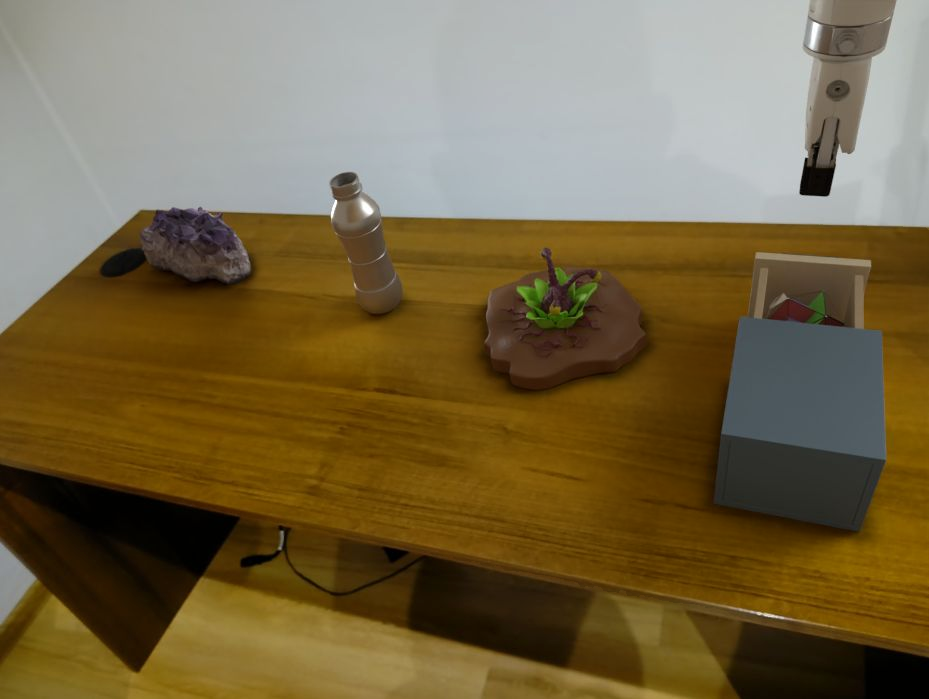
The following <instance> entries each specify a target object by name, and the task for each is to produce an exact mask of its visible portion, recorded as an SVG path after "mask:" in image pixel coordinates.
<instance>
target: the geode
mask: <svg viewBox="0 0 929 699" xmlns="http://www.w3.org/2000/svg"><path fill="white" fill-rule="evenodd" d="M139 241H140V243H141V245H142V247H141V250H142V251H143V254H144V256H145V258H146V260H147V262H148V264H149V267H151V268H153V269H155V270H157V271H158V270H159V271H161V270H164V271H171V272H172V273H174V274H175V275H176V276H179V277H182V278H184V279H187V280H188V281H190V282H192V283H197V282H202V281H205V280H207V279H209V280H210V279H211V280H217V281H220V282H221V283H223V284H225V285H230V284H234V283H236V282H239V281H242V280H245V278H247V277H249V276H251V274H252V271H253V270H252V269H253V268H252V265H251V264H252V263H251V261H250V257H249V254H248V251H247V250H246V248H245V247H244V245H243V242H242V240H241V239H240V237H239V236H238V234H237V232H236V231H235V230H234V229H233V228H232V227H231V226H230V225H227V224H226V222H225V221H224V220H223V212H222V211H220V212H218V213H217V214H215V215H213V214H211V213H210V212H209V211H207V210H206V209H203V207H202V206H199V207H198V208H185V209H182V208H179V207H174V206H173V207H171V208H170V209H168V211H166V210H160V209H158V208H157V209H156V210H155V214H154V216H153V218H152V222H151V224H150V225H148V226H146V227H144V228H142V230H141V231H140V232H139Z"/></svg>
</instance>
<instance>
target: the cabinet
mask: <svg viewBox="0 0 929 699" xmlns="http://www.w3.org/2000/svg"><path fill="white" fill-rule="evenodd" d="M883 353H884V352H883V331H882V330H878V329H877V330H876V329H868V328H867V329H866V328H864V329H858V328H848V327H839V326H829V325H819V324H809V323H799V322H790V321H780V320H770V319H760V318H750V317H748V316H739V319H738V325H737V332H736V337H735V344H734V350H733V357H732V363H731V369H730V375H729V383H728V388H727V394H726V399H725V400H726V401H725V408H724V414H723V419H722V426H721V432H720V439H719V440H720V441H719V450H718V460H717V469H716V478H715V488H714V497H713V504H714V505H719V506H723V507H728V508H734V509H740V510H745V511H750V512H754V513H759V514H765V515H769V516H770V515H771V516H775V517H780V518H785V519H790V520H796V521H801V522H805V523H810V524H816V525H820V526H827V527H832V528H837V529H842V530H845V531H846V530H848V531H852V532H857V533H860V532H861V530H862V527H863V525H864V522H865V519H866V518H867V514H868V511H869V508H870V507H871V503H872V500H873V498H874V495H875V492H876V489H877V487H878V484H879V481H880V479H881V475H882V472H883V471H884V467H885V465H886V463H887V442H886V441H887V440H886V416H885V415H886V414H885V413H886V410H885V384H884V357H883V355H884V354H883Z"/></svg>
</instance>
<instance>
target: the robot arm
mask: <svg viewBox="0 0 929 699" xmlns="http://www.w3.org/2000/svg"><path fill="white" fill-rule="evenodd" d="M897 1H898V0H809V4H808V11H807V16H806V17H807V18H806V24H805V30H804V37H803V41H802V50H803V52H804V53H805V54H807V55H808V56H810V57H812V64H811V70H810V77H809V83H808V84H809V86H808V89H807V90H808V91H807V98H806V108H805V126H804V127H805V128H804V149H805V151H807V157H804V161H803V167H802V172H801V176H800V177H801V178H800V183H799V192H798V193H799V195H800V196H805V197H822V198H825V197H829V196H830V195H831V190H832V186H833V181H834V176H835V171H836V168H837V155H838V152H839V148H840V151H841V153H842V154H847V155H851V154H853V152H855V151H856V144H857V139H858V134H859V129H860V124H861V119H862V115H863V110H864V105H865V99H866V96H867V91H868V87H869V86H868V85H869V80H870V75H871V67H872V61H873V57H876V56H879V55H880V54H881V53H883V51H885V49H886V47H887V42H888V38H889V34H890V30H891V25H892V22H893V17H894V13H895V8H896V5H897Z"/></svg>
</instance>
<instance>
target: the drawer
mask: <svg viewBox="0 0 929 699" xmlns="http://www.w3.org/2000/svg"><path fill="white" fill-rule="evenodd" d="M871 269H872V260H871V259H858V258H845V257H839V256H833V255H817V254H805V253H804V254H803V253H790V252H781V253H773V252H762V251H761V252H760V251H759V252H758V251H756V252H755V256H754V263H753V271H752V281H751V287H750V295H749V302H748V303H749V304H748V311H747V317H750V318H760V319H769V318H770V317H771V316H772V314H773V313H774V312H775V311H776V310H777V309H778V308H779V307H780V306H781V305H782V304H783V303H784V302H785V300H784V301H783V302H781V303H780V304H778V305H779V306H778V305H776V306H775V307H773V308H771V310H770V312H769V314H768V311H769V309H770V308H769V306H770V305H771V303H772V302H773V301H774V300H775V299H776V298H777V297H778V298H779V297H780V296H781V294H783V293H785V295H786V296H787V297H789V298H792V297H793V298H792V299H794V300H796V301H798V302H800V303H803V304H805V305H807V306H809V305H810V304H811V303H812V302H813V301H814V300H815V299H816V298H817V297H818V296H819V295H820V294H821V293H822V292H823V290H824V292H825V293H824V298H825V308H826V315H828V316H830V317H832V318H834V319H836V320H838V321H840V322H842V323H845V324H846V325H844V326H843V327H848V328H858V329H865V323H864V322H865V321H864V320H865V319H864V318H865V315H864V312H865V311H864V308H865V307H864V305H865V304H864V302H865V301H864V296H865V292H866V287H867V283H868V279H869V277H870V272H871ZM818 291H821V292H818ZM811 292H813V293H812V294H811ZM815 292H817V293H815ZM804 293H806V294H807V295H806V294H804ZM797 294H798V295H797ZM790 295H791V296H790ZM801 295H803V296H801ZM826 295H827V296H826ZM796 296H798V297H796ZM778 298H777V299H778ZM828 298H829V299H828ZM777 299H776V300H777ZM776 300H775V301H776ZM831 303H832V304H831ZM777 306H778V307H777ZM833 306H834V307H833ZM835 309H836V310H835ZM774 310H775V311H774ZM773 311H774V312H773ZM837 312H838V313H837ZM767 314H768V316H767ZM770 315H771V316H770ZM839 315H840V316H839ZM766 317H767V318H766ZM842 320H843V321H842Z"/></svg>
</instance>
